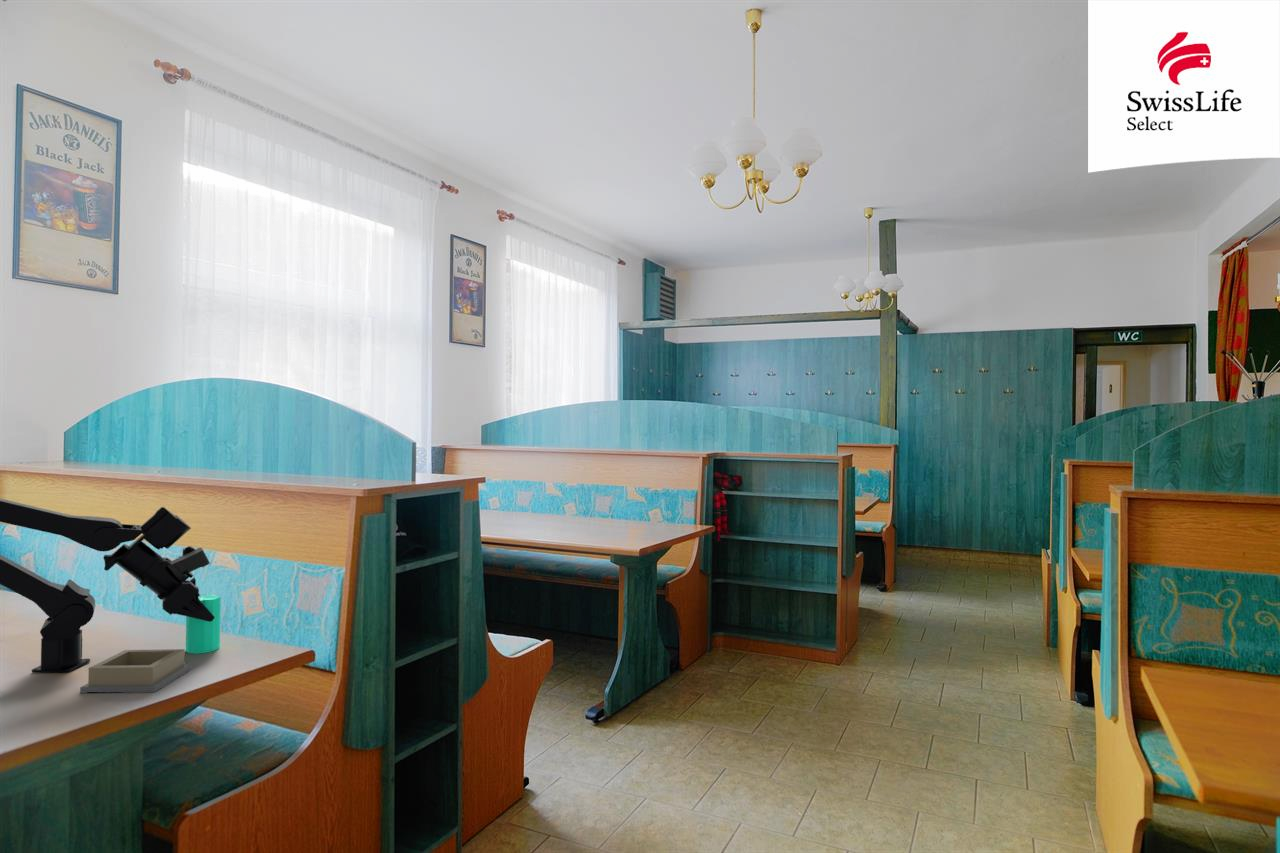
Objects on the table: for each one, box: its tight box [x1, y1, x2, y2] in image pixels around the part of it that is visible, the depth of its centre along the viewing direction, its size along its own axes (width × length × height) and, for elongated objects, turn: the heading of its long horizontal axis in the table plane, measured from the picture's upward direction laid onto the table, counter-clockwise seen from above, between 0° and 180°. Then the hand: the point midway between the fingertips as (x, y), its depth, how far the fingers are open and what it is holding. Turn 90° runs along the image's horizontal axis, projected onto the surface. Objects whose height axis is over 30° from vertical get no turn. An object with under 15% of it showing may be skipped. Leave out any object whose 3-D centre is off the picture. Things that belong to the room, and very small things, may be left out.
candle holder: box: [79, 648, 192, 694], centre depth 132 cm, size 12×12×4 cm
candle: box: [185, 594, 222, 654], centre depth 151 cm, size 6×6×12 cm
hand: (211, 615), depth 152 cm, fingers open, 7 cm apart
